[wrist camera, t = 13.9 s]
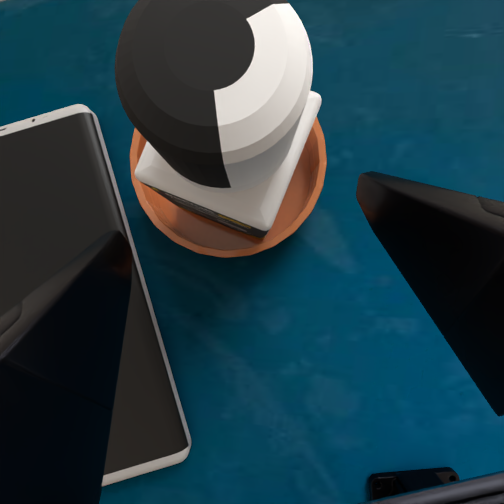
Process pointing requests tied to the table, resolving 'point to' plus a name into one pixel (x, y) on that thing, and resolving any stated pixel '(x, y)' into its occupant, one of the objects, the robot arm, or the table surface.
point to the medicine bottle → (218, 104)
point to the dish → (224, 238)
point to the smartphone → (68, 247)
